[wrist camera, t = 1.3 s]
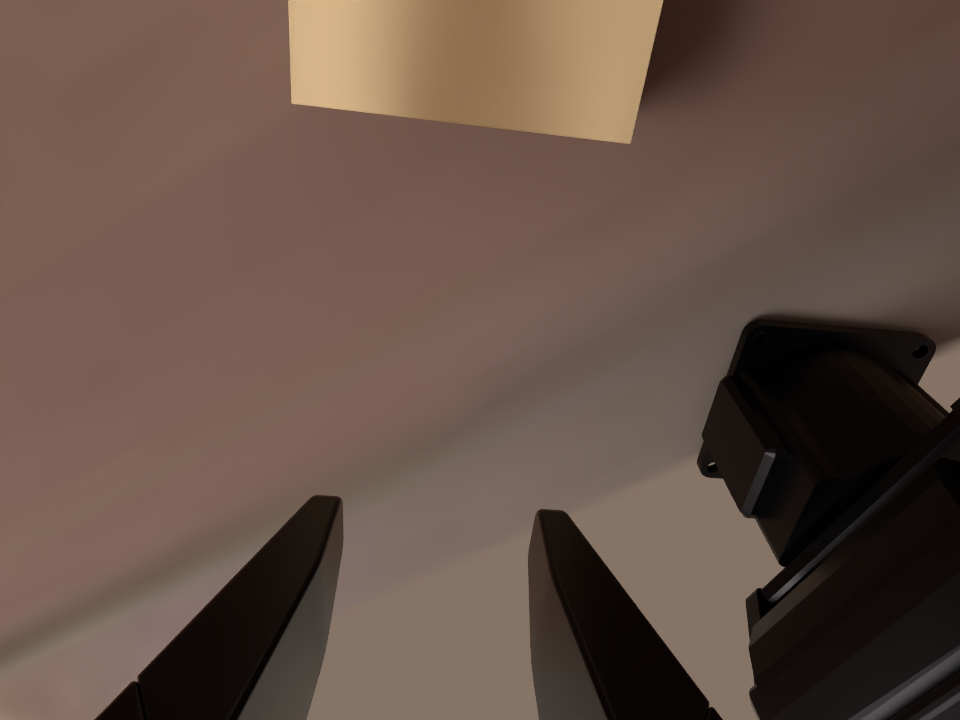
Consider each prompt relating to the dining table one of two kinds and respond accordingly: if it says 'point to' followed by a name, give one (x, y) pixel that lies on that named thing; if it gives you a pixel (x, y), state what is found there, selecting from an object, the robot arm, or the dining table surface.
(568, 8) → the oak block
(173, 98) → the dining table surface
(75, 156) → the dining table surface
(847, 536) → the robot arm
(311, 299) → the dining table surface
